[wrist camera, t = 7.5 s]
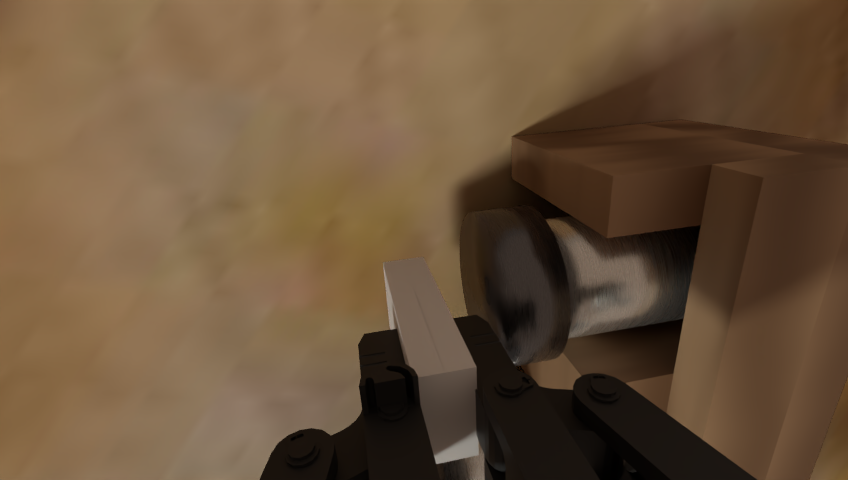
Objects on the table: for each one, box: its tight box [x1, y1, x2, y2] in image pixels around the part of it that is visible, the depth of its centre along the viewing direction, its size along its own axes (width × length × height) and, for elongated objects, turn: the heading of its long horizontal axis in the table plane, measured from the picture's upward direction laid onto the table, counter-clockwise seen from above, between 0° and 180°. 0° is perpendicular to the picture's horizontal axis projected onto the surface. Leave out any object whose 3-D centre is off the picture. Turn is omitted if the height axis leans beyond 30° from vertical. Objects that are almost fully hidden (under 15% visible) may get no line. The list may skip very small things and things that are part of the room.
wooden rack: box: [511, 120, 848, 480], centre depth 20 cm, size 8×27×9 cm, turn 4°
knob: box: [460, 205, 701, 366], centre depth 16 cm, size 9×6×6 cm, turn 94°
